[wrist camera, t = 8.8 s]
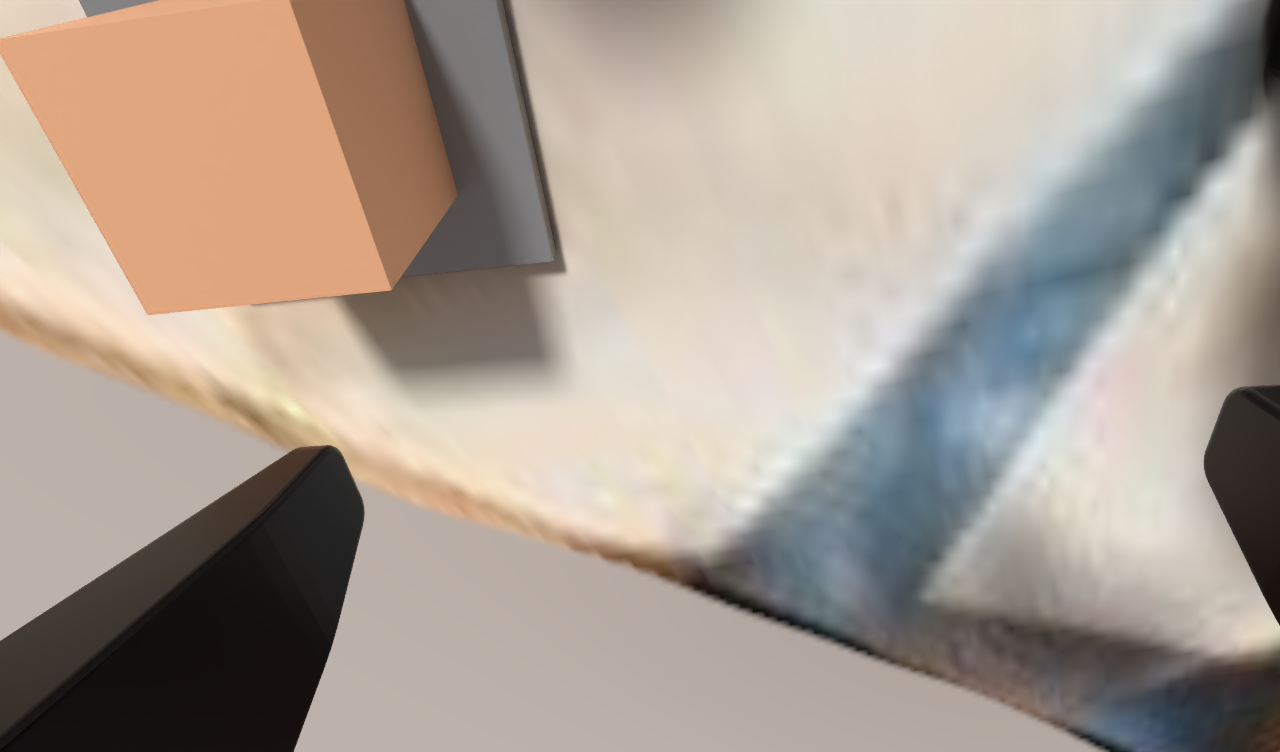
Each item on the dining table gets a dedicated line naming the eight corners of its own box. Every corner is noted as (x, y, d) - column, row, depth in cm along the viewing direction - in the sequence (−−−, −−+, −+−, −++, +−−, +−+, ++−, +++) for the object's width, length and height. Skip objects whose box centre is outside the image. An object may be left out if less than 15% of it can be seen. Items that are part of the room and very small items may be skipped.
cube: (458, 194, 18) (391, 290, 14) (266, 217, 19) (147, 315, 15) (393, -38, 15) (287, -4, 11) (171, -3, 16) (-8, 40, 12)
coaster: (465, -172, 15) (457, -173, 14) (555, 251, 20) (552, 261, 19) (51, -98, 16) (30, -97, 15) (236, 285, 21) (225, 295, 20)
